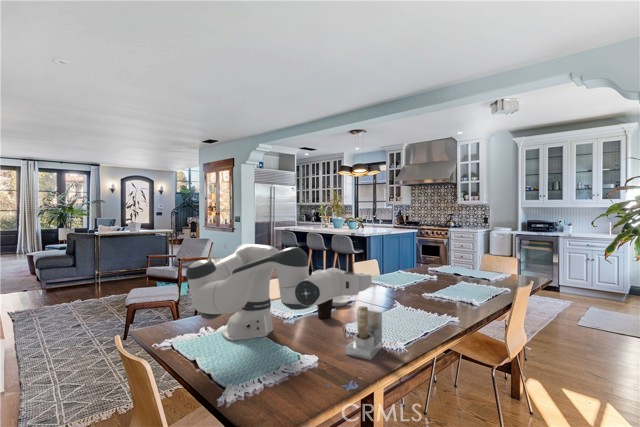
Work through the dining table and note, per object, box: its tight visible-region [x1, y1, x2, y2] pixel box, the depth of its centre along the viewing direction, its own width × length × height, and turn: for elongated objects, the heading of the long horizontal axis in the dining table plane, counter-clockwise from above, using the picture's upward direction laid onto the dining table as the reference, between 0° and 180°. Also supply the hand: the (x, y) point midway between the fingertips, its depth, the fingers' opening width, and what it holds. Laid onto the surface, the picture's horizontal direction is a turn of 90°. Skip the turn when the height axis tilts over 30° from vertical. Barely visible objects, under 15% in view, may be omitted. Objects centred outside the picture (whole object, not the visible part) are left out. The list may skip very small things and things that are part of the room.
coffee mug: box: [316, 298, 333, 321], centre depth 173 cm, size 12×9×10 cm
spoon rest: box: [332, 296, 350, 308], centre depth 196 cm, size 24×12×7 cm, turn 45°
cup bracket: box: [345, 308, 383, 361], centre depth 132 cm, size 12×10×14 cm
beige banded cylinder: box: [357, 305, 369, 339], centre depth 131 cm, size 4×4×14 cm
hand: (350, 274), depth 120 cm, fingers open, 8 cm apart
